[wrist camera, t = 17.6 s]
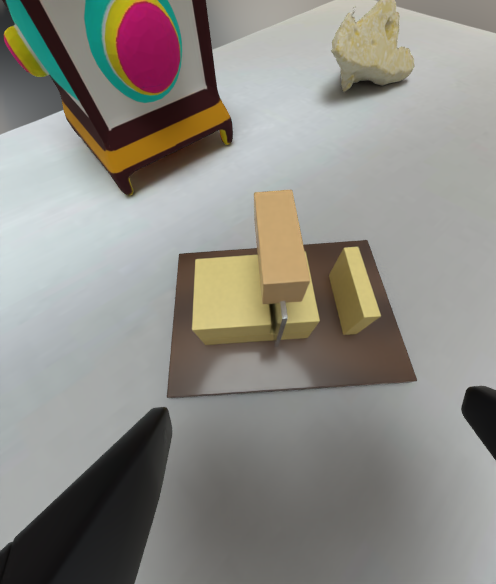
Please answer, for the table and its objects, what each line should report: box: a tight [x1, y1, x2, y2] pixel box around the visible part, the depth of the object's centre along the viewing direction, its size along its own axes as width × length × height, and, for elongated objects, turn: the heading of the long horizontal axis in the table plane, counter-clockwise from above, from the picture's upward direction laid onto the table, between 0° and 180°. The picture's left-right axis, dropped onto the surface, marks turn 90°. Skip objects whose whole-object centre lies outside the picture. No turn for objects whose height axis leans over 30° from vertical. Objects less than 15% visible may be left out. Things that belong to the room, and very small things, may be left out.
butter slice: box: [329, 247, 381, 335], centre depth 20 cm, size 6×1×4 cm, turn 3°
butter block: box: [192, 252, 320, 345], centre depth 20 cm, size 6×9×4 cm, turn 93°
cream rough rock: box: [331, 0, 414, 92], centre depth 38 cm, size 15×7×15 cm
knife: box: [254, 190, 310, 347], centre depth 16 cm, size 8×2×9 cm, turn 3°
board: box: [167, 240, 417, 398], centre depth 22 cm, size 14×20×1 cm
